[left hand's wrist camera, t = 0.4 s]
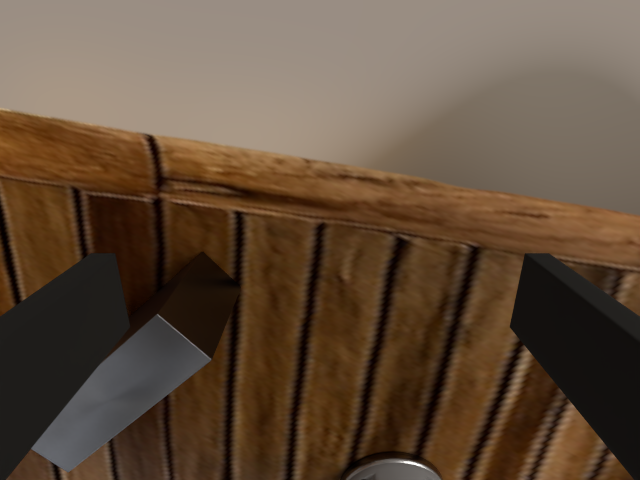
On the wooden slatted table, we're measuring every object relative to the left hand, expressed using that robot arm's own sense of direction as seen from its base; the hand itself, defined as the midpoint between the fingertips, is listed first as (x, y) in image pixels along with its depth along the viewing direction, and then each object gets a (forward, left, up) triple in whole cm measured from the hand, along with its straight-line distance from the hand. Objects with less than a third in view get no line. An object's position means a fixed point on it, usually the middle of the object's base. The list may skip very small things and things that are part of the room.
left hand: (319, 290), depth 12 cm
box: (-20, +17, -28) cm, 38 cm away
